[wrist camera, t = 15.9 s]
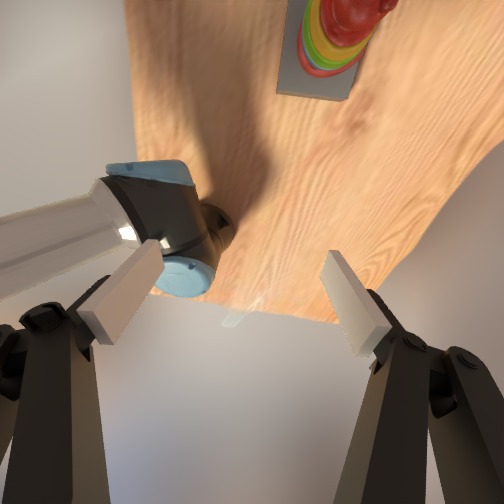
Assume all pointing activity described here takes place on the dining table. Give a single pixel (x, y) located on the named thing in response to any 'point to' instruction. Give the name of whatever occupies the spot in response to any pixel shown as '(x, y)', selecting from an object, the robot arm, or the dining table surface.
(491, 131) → the dining table surface
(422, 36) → the dining table surface
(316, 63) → the stacking bear
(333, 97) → the grey block
